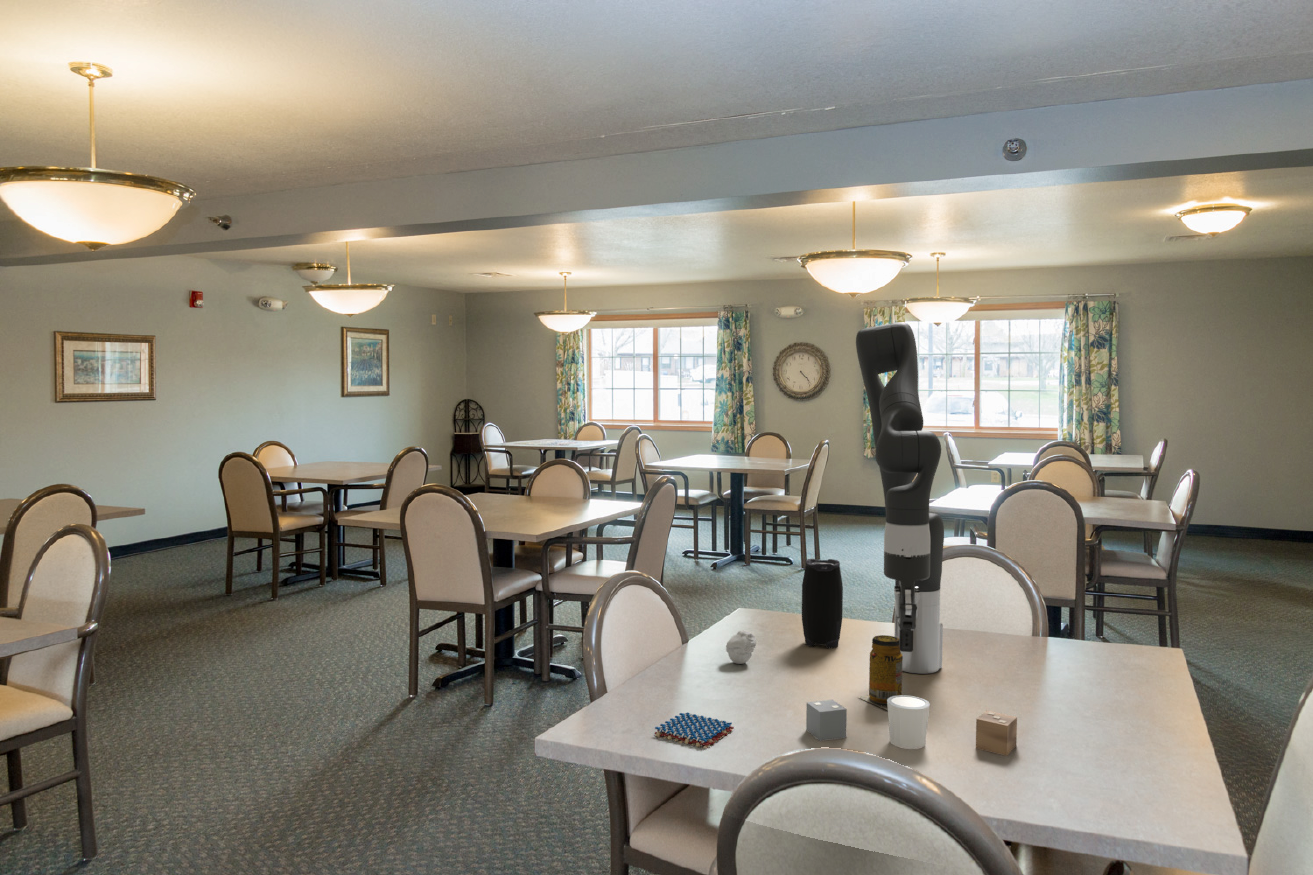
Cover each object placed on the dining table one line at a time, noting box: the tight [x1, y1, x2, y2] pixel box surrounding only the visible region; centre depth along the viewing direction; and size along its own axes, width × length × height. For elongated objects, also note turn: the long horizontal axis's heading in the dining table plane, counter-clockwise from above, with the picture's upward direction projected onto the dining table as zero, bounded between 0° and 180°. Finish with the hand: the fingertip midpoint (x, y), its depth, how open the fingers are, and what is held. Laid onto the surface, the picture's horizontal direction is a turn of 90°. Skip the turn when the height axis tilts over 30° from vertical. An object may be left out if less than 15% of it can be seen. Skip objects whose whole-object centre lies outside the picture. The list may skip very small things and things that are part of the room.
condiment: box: [858, 634, 903, 711], centre depth 170 cm, size 7×8×12 cm
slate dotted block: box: [805, 699, 848, 742], centre depth 154 cm, size 5×5×5 cm
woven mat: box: [654, 712, 735, 749], centre depth 154 cm, size 10×11×2 cm
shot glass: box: [887, 694, 931, 750], centre depth 150 cm, size 7×7×7 cm
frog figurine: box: [725, 629, 757, 665], centre depth 194 cm, size 6×7×7 cm
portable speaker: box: [801, 558, 844, 649], centre depth 209 cm, size 9×9×20 cm
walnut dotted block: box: [975, 710, 1018, 757], centre depth 148 cm, size 5×5×5 cm
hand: (906, 650), depth 152 cm, fingers closed
